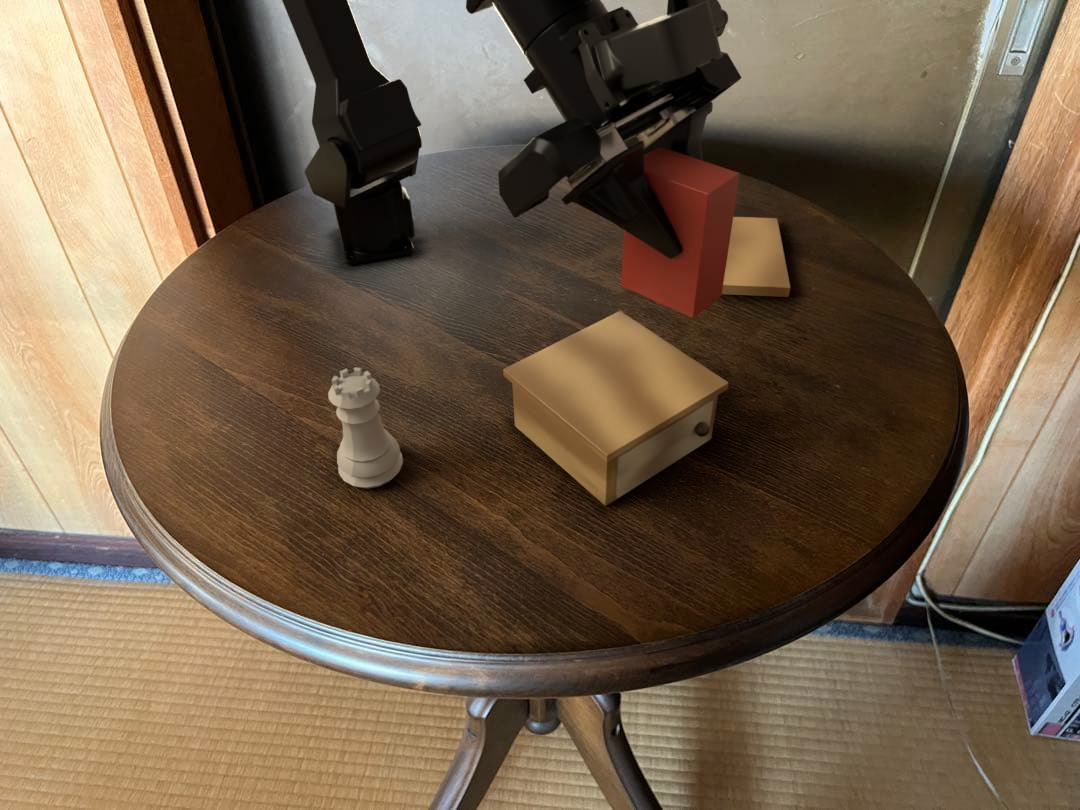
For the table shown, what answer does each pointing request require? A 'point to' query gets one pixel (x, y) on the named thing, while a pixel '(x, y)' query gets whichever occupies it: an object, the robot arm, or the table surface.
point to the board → (756, 259)
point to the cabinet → (614, 404)
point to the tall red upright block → (684, 233)
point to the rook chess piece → (363, 432)
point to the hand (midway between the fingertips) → (693, 243)
